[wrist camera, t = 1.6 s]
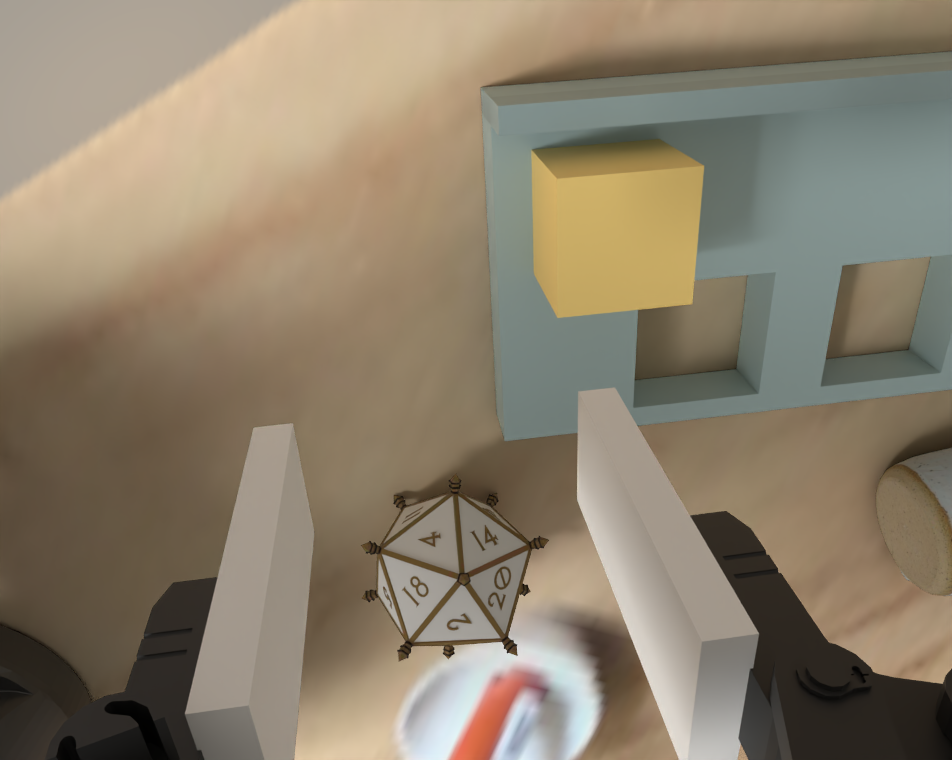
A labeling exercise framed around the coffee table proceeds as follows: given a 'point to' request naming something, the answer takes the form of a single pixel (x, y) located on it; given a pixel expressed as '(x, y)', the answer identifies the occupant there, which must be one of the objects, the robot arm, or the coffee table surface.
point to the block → (615, 226)
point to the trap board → (736, 231)
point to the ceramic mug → (919, 519)
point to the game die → (451, 572)
